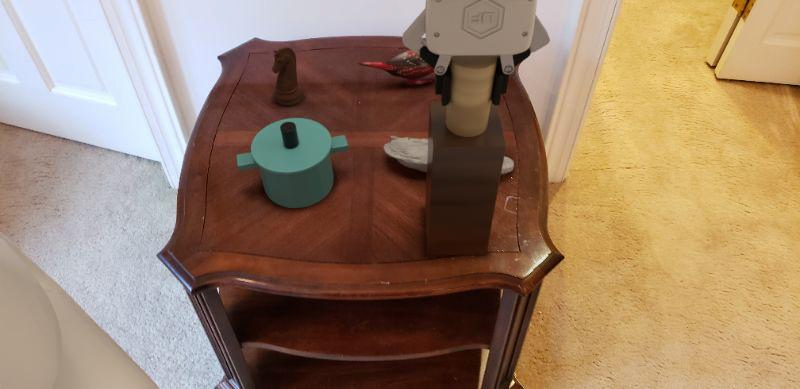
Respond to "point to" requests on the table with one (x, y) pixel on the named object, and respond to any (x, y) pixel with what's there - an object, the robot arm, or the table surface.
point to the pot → (297, 179)
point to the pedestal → (461, 185)
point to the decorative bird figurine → (405, 67)
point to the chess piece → (286, 77)
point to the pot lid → (291, 146)
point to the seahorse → (421, 153)
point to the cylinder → (470, 94)
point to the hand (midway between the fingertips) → (469, 96)
